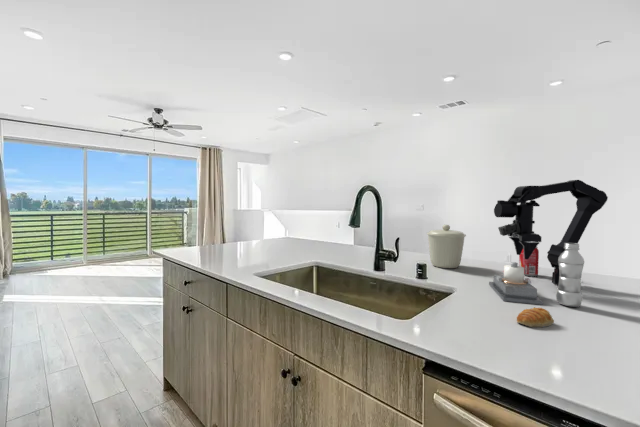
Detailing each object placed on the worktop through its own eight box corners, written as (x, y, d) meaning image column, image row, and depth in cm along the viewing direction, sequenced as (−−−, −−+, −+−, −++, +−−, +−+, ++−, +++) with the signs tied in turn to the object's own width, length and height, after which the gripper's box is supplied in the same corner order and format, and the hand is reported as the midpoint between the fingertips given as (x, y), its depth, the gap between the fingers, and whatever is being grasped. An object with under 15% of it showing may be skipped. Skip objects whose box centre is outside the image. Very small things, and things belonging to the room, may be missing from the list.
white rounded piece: (520, 279, 108) (521, 261, 108) (526, 283, 102) (527, 265, 102) (501, 277, 110) (502, 260, 109) (506, 282, 104) (507, 263, 104)
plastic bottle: (575, 303, 97) (578, 242, 96) (586, 310, 90) (590, 245, 89) (552, 300, 99) (554, 241, 98) (560, 307, 93) (564, 244, 92)
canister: (472, 270, 140) (473, 226, 139) (433, 270, 140) (434, 226, 139) (455, 262, 158) (456, 223, 157) (421, 262, 158) (422, 222, 157)
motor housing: (521, 287, 114) (521, 272, 114) (542, 304, 95) (543, 287, 95) (488, 284, 117) (489, 270, 117) (503, 301, 98) (504, 284, 98)
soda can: (541, 277, 129) (543, 247, 129) (525, 277, 130) (526, 247, 129) (530, 273, 137) (531, 245, 136) (514, 272, 137) (516, 245, 136)
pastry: (535, 331, 76) (535, 317, 76) (508, 321, 82) (509, 308, 82) (555, 325, 80) (556, 311, 80) (529, 316, 86) (529, 303, 86)
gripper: (494, 215, 128) (493, 251, 129) (507, 218, 111) (506, 260, 111) (524, 216, 125) (523, 253, 126) (543, 219, 107) (540, 262, 108)
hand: (522, 256), depth 118 cm, fingers open, 9 cm apart
